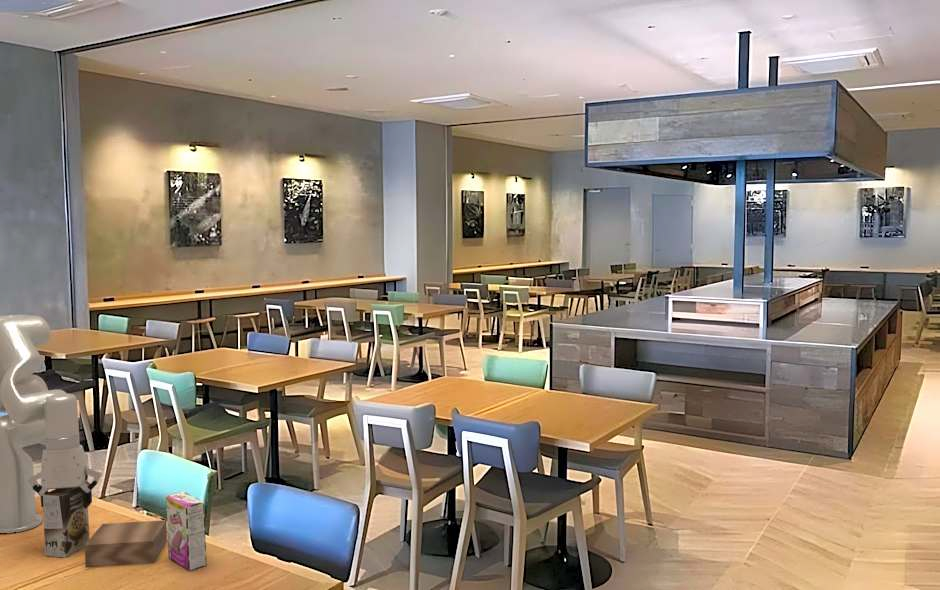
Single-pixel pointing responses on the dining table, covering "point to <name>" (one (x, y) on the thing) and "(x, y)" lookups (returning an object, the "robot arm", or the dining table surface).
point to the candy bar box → (186, 530)
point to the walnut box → (126, 543)
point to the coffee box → (65, 522)
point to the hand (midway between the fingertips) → (67, 507)
